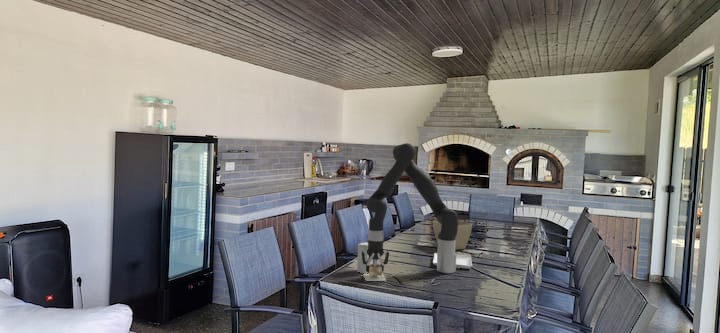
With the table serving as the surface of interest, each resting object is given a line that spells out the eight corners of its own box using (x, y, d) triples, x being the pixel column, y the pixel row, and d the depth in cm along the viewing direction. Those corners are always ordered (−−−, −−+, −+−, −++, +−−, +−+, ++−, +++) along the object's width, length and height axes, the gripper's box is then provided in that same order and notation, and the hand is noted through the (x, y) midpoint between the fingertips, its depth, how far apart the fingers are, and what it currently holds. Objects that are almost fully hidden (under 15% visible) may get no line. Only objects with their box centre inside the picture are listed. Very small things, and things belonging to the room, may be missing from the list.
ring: (379, 271, 218) (379, 263, 218) (381, 275, 212) (381, 267, 212) (367, 271, 217) (368, 263, 217) (369, 275, 211) (369, 267, 211)
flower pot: (430, 245, 289) (431, 220, 288) (454, 243, 297) (455, 219, 296) (448, 252, 271) (449, 225, 271) (472, 250, 279) (473, 224, 279)
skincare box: (366, 274, 221) (367, 245, 220) (356, 272, 224) (357, 244, 223) (374, 270, 228) (375, 242, 228) (364, 268, 231) (365, 241, 231)
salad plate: (472, 271, 233) (472, 265, 233) (432, 268, 237) (432, 261, 237) (470, 261, 254) (471, 255, 253) (434, 258, 258) (434, 252, 258)
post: (382, 275, 220) (383, 256, 220) (386, 281, 210) (386, 261, 210) (363, 275, 219) (363, 256, 219) (365, 281, 209) (366, 261, 209)
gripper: (388, 237, 218) (387, 270, 219) (360, 237, 217) (359, 270, 218) (391, 240, 211) (390, 274, 212) (362, 240, 209) (361, 274, 210)
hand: (374, 272), depth 215 cm, fingers closed on ring, 6 cm apart
